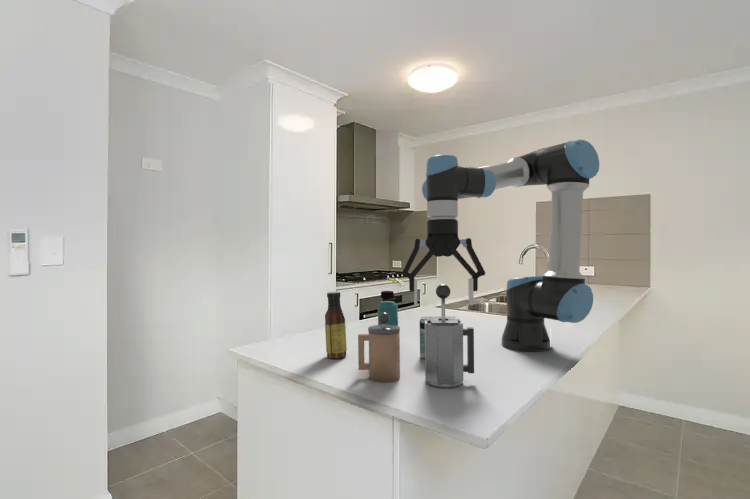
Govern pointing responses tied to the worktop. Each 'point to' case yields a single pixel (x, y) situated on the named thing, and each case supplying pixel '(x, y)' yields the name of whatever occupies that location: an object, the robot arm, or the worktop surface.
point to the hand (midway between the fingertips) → (443, 304)
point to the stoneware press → (381, 351)
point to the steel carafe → (447, 352)
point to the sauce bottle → (335, 328)
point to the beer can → (422, 336)
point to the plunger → (443, 297)
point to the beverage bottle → (388, 308)
